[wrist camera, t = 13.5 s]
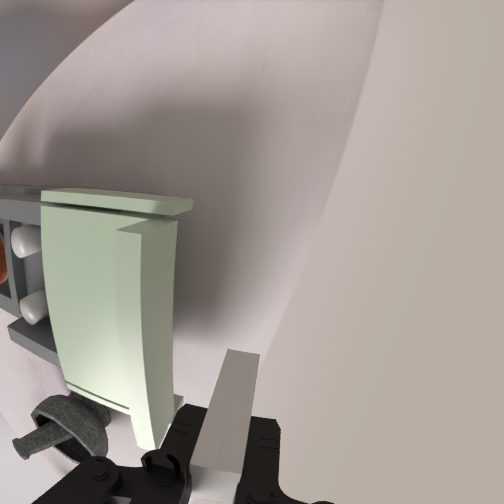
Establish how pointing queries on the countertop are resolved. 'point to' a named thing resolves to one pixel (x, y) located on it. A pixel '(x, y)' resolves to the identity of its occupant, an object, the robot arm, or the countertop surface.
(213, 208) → the countertop surface
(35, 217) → the housing base
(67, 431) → the mortar and pestle
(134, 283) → the cover
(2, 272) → the pill bottle
